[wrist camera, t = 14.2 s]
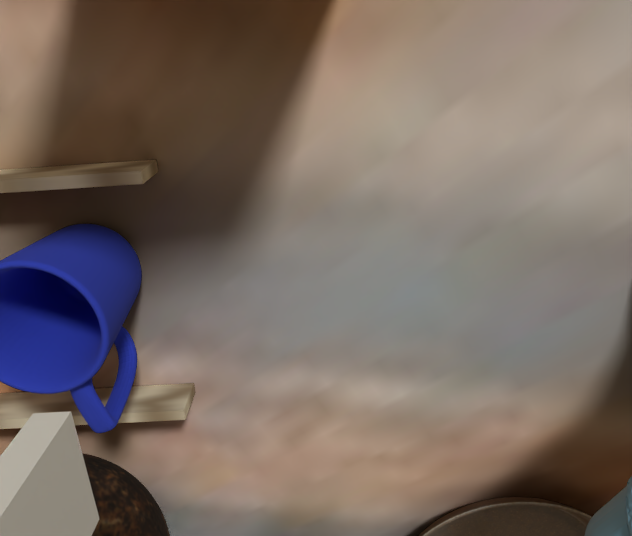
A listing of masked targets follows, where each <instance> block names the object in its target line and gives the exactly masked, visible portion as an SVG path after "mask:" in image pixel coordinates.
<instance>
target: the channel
mask: <svg viewBox="0 0 632 536" xmlns="http://www.w3.org/2000/svg"><path fill="white" fill-rule="evenodd" d="M157 172H158V167H157V161H156V160H141V161H126V162H111V163H96V164H81V165H65V166H50V167H35V168H20V169H5V170H0V193H10V192H26V191H41V190H57V189H72V188H88V187H103V186H119V185H134V184H144V183H145V182H146V181H147V180H149V179H150V178H151V177H152V176H154V175H155V174H156V173H157ZM94 389H95V391H96V393H97V395H98V396H99V398H100V400H101V401H102V403H103V405H104V406H105V405H106V403H107V401H108V399H109V397H110V394H111V392H112V389H113V387H112V388H94ZM194 395H195V387H194V383H188V384H169V385H150V386H132V388H131V391H130V394H129V397H128V400H127V402H126V405H125V407H124V410H123V412H122V414H121V417H120V419H119V421H118V423H131V422H151V421H171V420H186V417H187V414H188V411H189V409H190V406H191V403H192V400H193V397H194ZM70 411H71V413H72V416H73V420H74V424H75V425H88V423H87V422H86V421H85V419H84V418H83V416H82V414H81V413H80V411H79V410H78V408H77V406H76V404H75V402H74V400H73V398H72V395H71V392H70V390H69V391H65V392H61V393H54V394H38V393H31V392H17V393H0V429H12V428H22V427H23V426H24V425H25V423H26V422H27V421H28V419H29V418H30V417H31V416H32V414H33V413H50V412H70Z"/></svg>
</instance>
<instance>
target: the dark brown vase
mask: <svg viewBox="0 0 632 536" xmlns="http://www.w3.org/2000/svg"><path fill="white" fill-rule="evenodd" d="M83 458H84V462H85V466H86V470H87V473H88V477H89V481H90V485H91V488H92V492H93V496H94V500H95V504H96V507H97V511H98V515H99V521H98V523H97V525H96V527H95V530H94V532H93V534H92V536H170V535H169V531H168V527H167V524H166V521H165V519H164V516H163V514H162V512H161V510H160V508H159V506H158V504H157V503H156V501H155V500H154V498H153V497H152V495H151V494H150V493H149V491H148V490H147V489H146V488H145V486H144V485H142V484H141V482H139V480H137V479H136V478H135V477H134V476H132V475H131V474H130V473H129V472H127V471H126V470H124V469H122V468H121V467H119V466H117V465H116V464H113V463H111V462H109V461H107V460H104V459H101V458H99V457H96V456H92V455H88V454H83Z"/></svg>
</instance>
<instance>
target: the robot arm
mask: <svg viewBox="0 0 632 536" xmlns="http://www.w3.org/2000/svg"><path fill="white" fill-rule="evenodd" d="M98 521H99V515H98V511H97V507H96V504H95V500H94V496H93V492H92V488H91V485H90V481H89V477H88V473H87V470H86V466H85V462H84V458H83V454H82V451H81V447H80V443H79V439H78V435H77V432H76V428H75V424H74V420H73V416H72V413H71V411H70V412H50V413H33V414H32V416H31V417H30V418H29V419H28V421H27V422H26V423H25V425H24V426H23V427H22V429H21V430H20V431H19V433H18V434H17V435H16V436H15V438H14V439H13V440H12V442H11V443H10V444H9V446H8V447H7V448H6V449H5V451H4V452H3V453H2V455H1V456H0V536H92V534H93V532H94V530H95V527H96V525H97V523H98ZM585 536H632V476H631V477H630V478H629V480H628V482H627V486H626V487H625V488H624V489H622V490H621V491H620V492H619V493H618V494H617V495H616V496H614V497H613V498H612V499H611V500H610V501H609V502H608V503H606V504H605V505H604V506H603V507H602V508H601V509H600V510H598V511H597V512H596V513H595V514H594V515H593V517H592V518H591V519H590V521H589V523H588V525H587V527H586V531H585Z"/></svg>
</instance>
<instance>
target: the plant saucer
mask: <svg viewBox="0 0 632 536" xmlns="http://www.w3.org/2000/svg"><path fill="white" fill-rule="evenodd" d="M591 518H592V516H590V515H588V514H586V513H584V512H582V511H580V510H577V509H575V508H573V507H570V506H567V505H564V504H561V503H557V502H553V501H549V500H544V499H538V498H528V497H504V498H495V499H489V500H484V501H480V502H476V503H473V504H470V505H467V506H464V507H461V508H459V509H457V510H455V511H453V512H451V513H449V514H447V515H445V516H443V517H441V518H440V519H438V520H437V521H435V522H434V523H433V524H431V525H430V526H429V527H427V528H426V529H425V530H424V531H423V532H422V533H421V534H420V535H419V536H585V531H586V527H587V525H588V523H589V521H590V519H591Z"/></svg>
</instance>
